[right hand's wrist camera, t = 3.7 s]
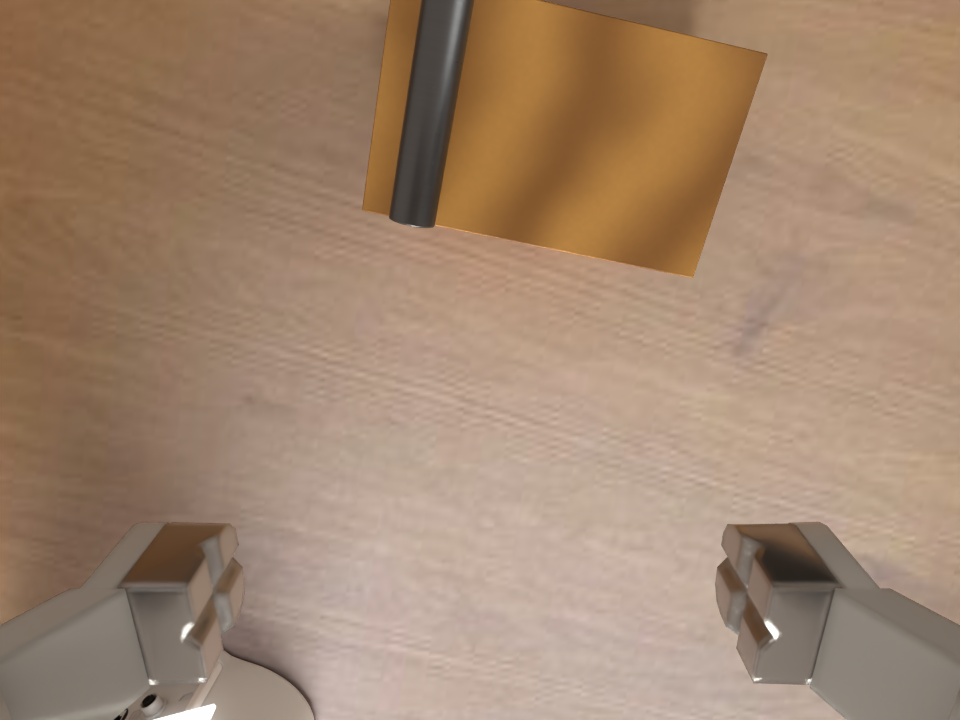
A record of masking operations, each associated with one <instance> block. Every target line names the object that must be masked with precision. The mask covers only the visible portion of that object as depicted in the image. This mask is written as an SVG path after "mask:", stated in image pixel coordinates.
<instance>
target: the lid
mask: <svg viewBox="0 0 960 720" xmlns="http://www.w3.org/2000/svg"><path fill="white" fill-rule="evenodd" d="M766 57H767V54H766V53H762V52H758V51H754V50H749V49H745V48H741V47H737V46H732V45H728V44H724V43H720V42H715V41H711V40H707V39H703V38H698V37H694V36H690V35H686V34H681V33H677V32H673V31H669V30H664V29H660V28H656V27H652V26H647V25H643V24H639V23H635V22H630V21H626V20H622V19H618V18H613V17H609V16H605V15H601V14H596V13H592V12H588V11H584V10H579V9H575V8H571V7H567V6H562V5H558V4H554V3H550V2H545V1H541V0H390V6H389V14H388V21H387V29H386V36H385V44H384V51H383V59H382V66H381V74H380V81H379V89H378V96H377V103H376V111H375V118H374V126H373V133H372V141H371V148H370V156H369V163H368V171H367V178H366V186H365V193H364V200H363V208H362V210H363V211H367V212H372V213H377V214H382V215H386V216H389V218H390V219H391V220H393V221H395V222H397V223H400V224H404V225H408V226H413V227H420V228H431V227H434V226H440V227H445V228H450V229H455V230H460V231H465V232H470V233H475V234H479V235H484V236H489V237H494V238H499V239H504V240H509V241H514V242H519V243H524V244H528V245H533V246H538V247H543V248H548V249H553V250H558V251H563V252H568V253H572V254H577V255H582V256H587V257H592V258H597V259H602V260H607V261H612V262H617V263H621V264H626V265H631V266H636V267H641V268H646V269H651V270H656V271H661V272H665V273H670V274H675V275H680V276H685V277H690V278H693V276H694V273H695V270H696V267H697V264H698V261H699V258H700V255H701V252H702V249H703V246H704V243H705V240H706V237H707V234H708V231H709V228H710V225H711V222H712V219H713V216H714V213H715V210H716V207H717V204H718V201H719V198H720V195H721V192H722V189H723V186H724V183H725V180H726V177H727V174H728V171H729V168H730V165H731V162H732V159H733V156H734V153H735V150H736V147H737V144H738V141H739V138H740V135H741V132H742V129H743V126H744V123H745V120H746V117H747V114H748V111H749V108H750V105H751V102H752V99H753V96H754V93H755V90H756V87H757V84H758V81H759V78H760V75H761V72H762V69H763V66H764V63H765V60H766Z"/></svg>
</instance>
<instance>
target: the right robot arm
mask: <svg viewBox="0 0 960 720" xmlns="http://www.w3.org/2000/svg"><path fill="white" fill-rule="evenodd" d="M238 545H239V543H238V539H237V534H236V529H235V527H233V526H232V525H231V524H227V523H181V522H171V523H168V522H141V523H138V524H136V525H133V526H132V528H131V529H130V530H129V531H128V532H127V533H126V535H125V536H124V537H123V538H122V539H121V541H120V542H119V543H118V544H117V545H116V546H115V548H114V549H113V550H112V551H111V552H110V554H109V555H108V556H107V557H106V558H105V559H104V561H103V562H102V563H101V564H100V565H99V567H98V568H97V569H96V570H95V571H94V572H93V574H92V575H91V576H90V577H89V578H88V580H87V581H86V582H85V583H84V584H83V585H82V587H81V588H80V589H68V590H66V591H65V592H63V593H61V594H59V595H57V596H55V597H53V598H51V599H49V600H47V601H46V602H44V603H42V604H40V605H38V606H36V607H34V608H32V609H30V610H28V611H27V612H25V613H23V614H21V615H19V616H17V617H15V618H13V619H11V620H9V621H8V622H6V623H4V624H2V625H0V720H315V719H314V715H313V712H312V710H311V708H310V706H309V704H308V702H307V701H306V699H305V698H304V697H303V695H302V694H301V693H300V692H299V691H298V690H297V689H296V688H295V687H294V686H293V685H292V684H291V683H290V682H288V681H287V680H286V679H284V678H283V677H281V676H280V675H278V674H276V673H274V672H273V671H271V670H269V669H266V668H264V667H262V666H259V665H256V664H253V663H250V662H247V661H244V660H241V659H238V658H236V657H234V656H231V655H230V654H228V653H227V652H226V651H224V650H223V642H222V637H221V635H223V634H224V633H225V632H227V631H228V630H230V629H231V628H232V627H234V625H235V623H236V621H237V619H238V616H239V614H240V612H241V607H242V603H243V598H244V580H245V579H244V573H243V567H242V566H241V565H240V564H239V563H238V562H237V561H236V560H235V559H234V558H233V555H234V553H235V551H236V549H237V547H238ZM721 545H722V547H723V549H724V551H725V553H726V555H727V558H726V559H725V560H724V561H723V562H722V563H721V564H720V565H719V566H718V567H717V574H716V582H715V587H716V599H717V604H718V608H719V611H720V614H721V617H722V619H723V621H724V623H725V625H726V627H728V628H729V629H730V630H732V631H733V632H735V633H736V634H737V635H739V637H738V642H737V650H738V653H739V655H740V657H741V659H742V661H743V663H744V665H745V667H746V669H747V671H748V673H749V675H750V677H751V679H752V681H753V683H765V684H800V685H810V688H811V689H812V690H813V691H814V692H815V693H817V694H818V695H819V696H820V697H821V698H822V699H823V700H825V701H826V702H827V703H828V704H829V705H830V706H832V707H833V708H834V709H835V710H836V711H837V712H838V713H840V714H841V715H842V716H843V717H844V718H845V719H847V720H960V625H958V624H956V623H954V622H952V621H950V620H949V619H947V618H945V617H943V616H941V615H939V614H937V613H935V612H933V611H931V610H930V609H928V608H926V607H924V606H922V605H920V604H918V603H916V602H914V601H913V600H911V599H909V598H907V597H905V596H903V595H901V594H899V593H897V592H895V591H894V590H892V589H880V588H879V587H878V585H877V584H876V583H875V582H874V581H873V580H872V578H871V577H870V576H869V575H868V574H867V572H866V571H865V570H864V569H863V568H862V567H861V565H860V564H859V563H858V562H857V561H856V559H855V558H854V557H853V556H852V555H851V554H850V552H849V551H848V550H847V549H846V548H845V546H844V545H843V544H842V543H841V542H840V541H839V539H838V538H837V537H836V536H835V535H834V534H833V532H832V531H831V530H830V529H829V528H828V526H826V525H825V524H823V523H821V522H797V523H788V524H727V526H726V528H725V530H724V532H723V538H722V543H721Z"/></svg>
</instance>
